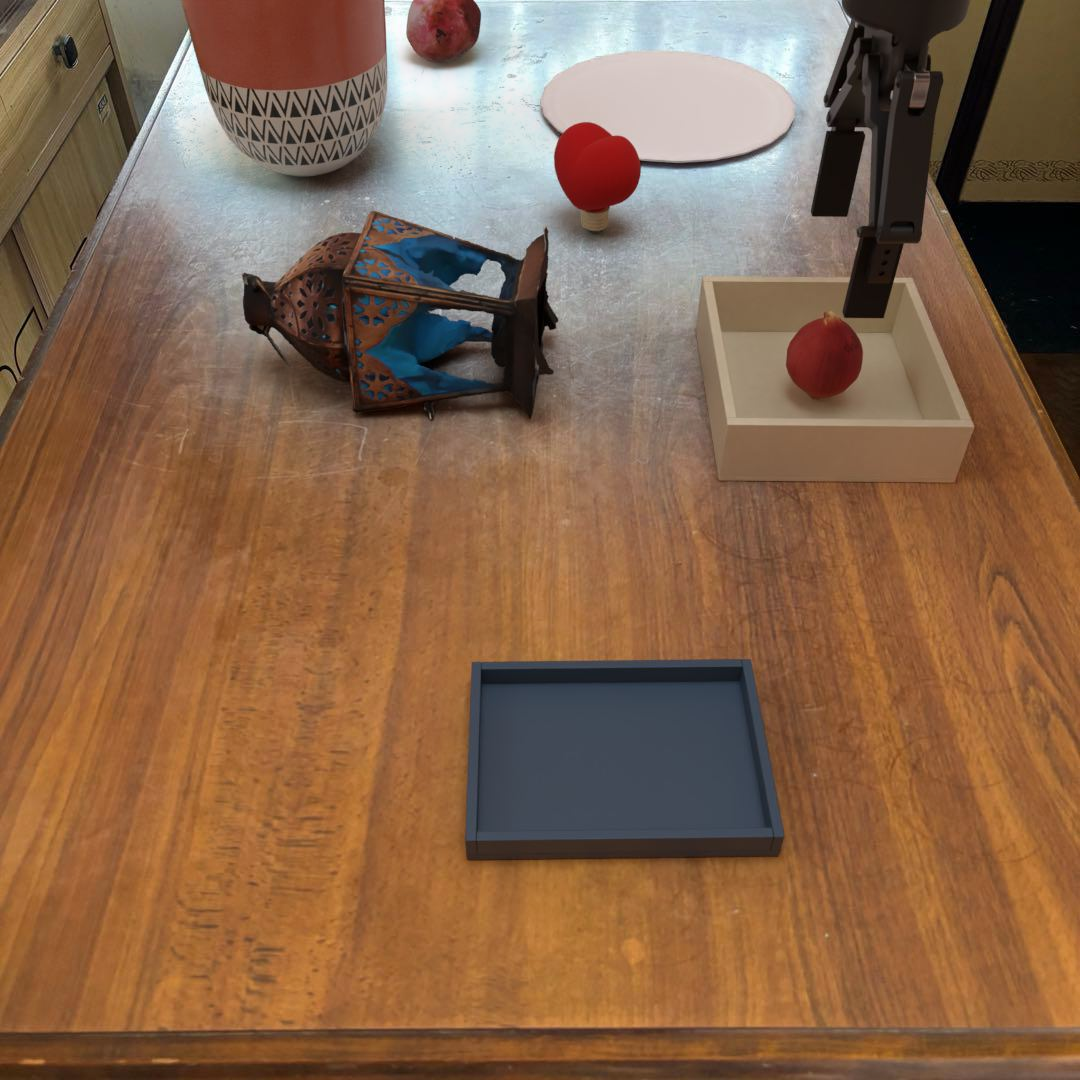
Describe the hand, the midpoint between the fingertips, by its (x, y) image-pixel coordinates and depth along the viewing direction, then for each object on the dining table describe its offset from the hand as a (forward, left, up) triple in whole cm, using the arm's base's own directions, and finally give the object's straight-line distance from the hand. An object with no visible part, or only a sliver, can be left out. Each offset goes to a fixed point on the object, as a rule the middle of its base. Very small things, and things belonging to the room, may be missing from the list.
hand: (844, 262), depth 80 cm
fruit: (+70, -32, -13) cm, 78 cm away
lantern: (+28, +18, -13) cm, 36 cm away
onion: (0, 0, -12) cm, 12 cm away
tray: (-8, +38, -13) cm, 41 cm away
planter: (+62, -2, -13) cm, 63 cm away
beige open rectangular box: (0, 0, -13) cm, 13 cm away
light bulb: (+30, -10, -13) cm, 34 cm away
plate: (+40, -37, -13) cm, 56 cm away
